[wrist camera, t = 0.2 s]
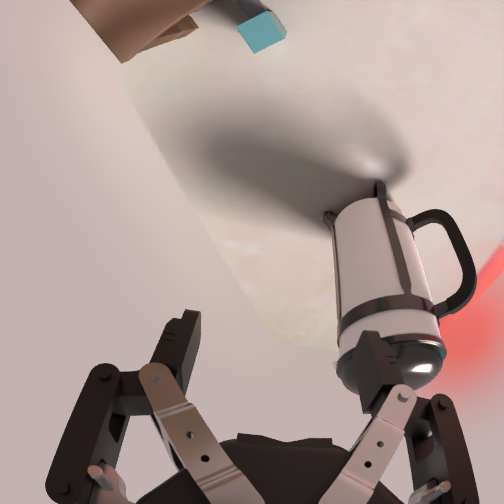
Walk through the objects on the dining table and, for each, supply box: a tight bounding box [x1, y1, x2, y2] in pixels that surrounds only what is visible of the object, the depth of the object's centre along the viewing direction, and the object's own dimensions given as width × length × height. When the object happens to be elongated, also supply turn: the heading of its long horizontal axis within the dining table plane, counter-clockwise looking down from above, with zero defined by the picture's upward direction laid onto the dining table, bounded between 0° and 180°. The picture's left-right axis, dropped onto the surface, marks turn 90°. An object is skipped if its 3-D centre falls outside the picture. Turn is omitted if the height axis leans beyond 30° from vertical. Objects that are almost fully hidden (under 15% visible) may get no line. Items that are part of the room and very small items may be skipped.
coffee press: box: [323, 182, 477, 395], centre depth 35 cm, size 17×16×30 cm
